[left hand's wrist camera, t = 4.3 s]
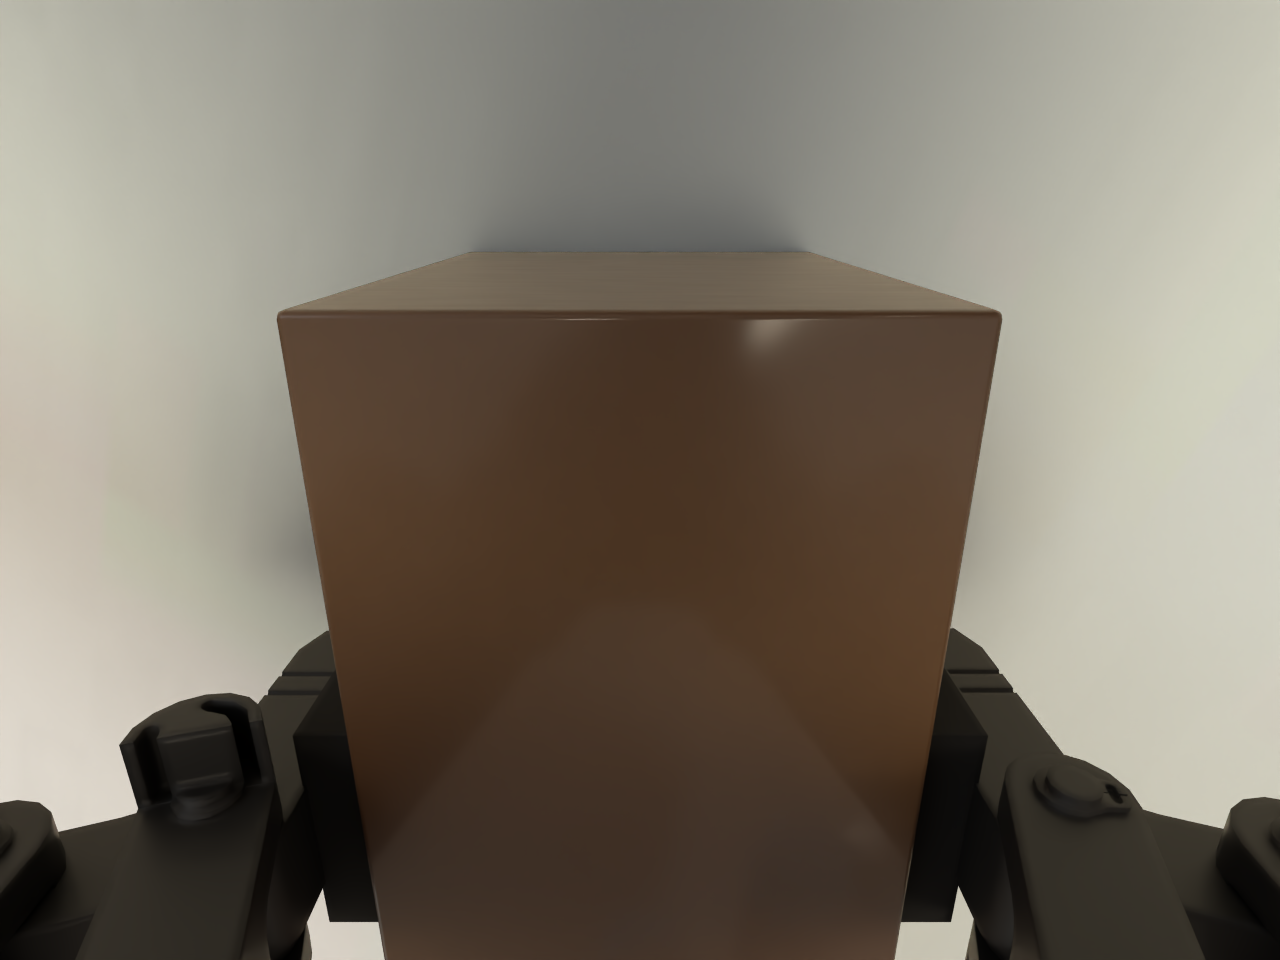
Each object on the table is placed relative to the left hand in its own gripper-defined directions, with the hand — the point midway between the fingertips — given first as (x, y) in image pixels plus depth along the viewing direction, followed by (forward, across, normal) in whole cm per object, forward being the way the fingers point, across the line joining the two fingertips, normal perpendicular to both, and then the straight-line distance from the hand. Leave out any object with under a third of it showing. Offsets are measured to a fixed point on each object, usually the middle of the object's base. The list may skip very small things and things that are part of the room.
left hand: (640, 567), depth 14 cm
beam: (0, 0, -27) cm, 27 cm away
